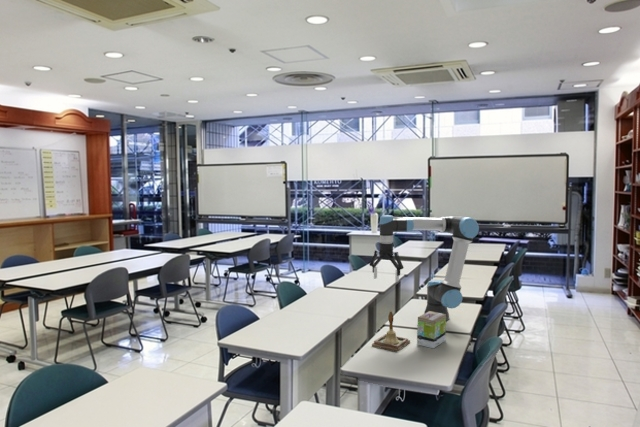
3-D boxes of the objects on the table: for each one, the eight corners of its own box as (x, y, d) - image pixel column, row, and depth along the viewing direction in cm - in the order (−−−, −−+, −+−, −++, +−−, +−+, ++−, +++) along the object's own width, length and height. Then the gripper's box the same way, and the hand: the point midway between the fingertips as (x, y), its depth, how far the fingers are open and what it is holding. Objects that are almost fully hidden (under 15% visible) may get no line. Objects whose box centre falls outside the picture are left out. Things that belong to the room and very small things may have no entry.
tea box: (434, 349, 225) (435, 320, 224) (416, 344, 231) (416, 316, 230) (446, 340, 237) (446, 313, 236) (428, 336, 243) (428, 310, 242)
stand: (385, 337, 242) (385, 333, 242) (409, 342, 234) (410, 338, 234) (371, 346, 229) (371, 341, 229) (396, 352, 221) (396, 347, 221)
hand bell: (386, 345, 227) (386, 314, 225) (380, 339, 235) (381, 310, 234) (401, 344, 228) (402, 313, 227) (395, 338, 236) (396, 309, 235)
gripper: (363, 241, 256) (363, 278, 257) (404, 245, 242) (403, 283, 243) (369, 240, 262) (369, 276, 263) (409, 243, 248) (409, 281, 249)
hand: (386, 279), depth 253 cm, fingers open, 13 cm apart
